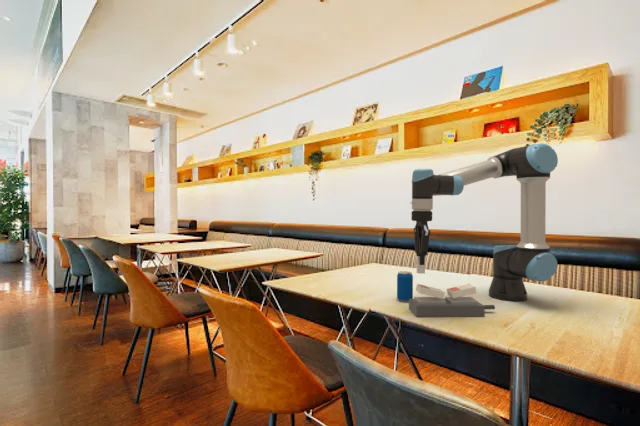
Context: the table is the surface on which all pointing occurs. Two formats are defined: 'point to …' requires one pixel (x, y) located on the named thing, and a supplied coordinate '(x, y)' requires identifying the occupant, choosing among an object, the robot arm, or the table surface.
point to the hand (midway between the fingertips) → (420, 273)
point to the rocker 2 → (461, 291)
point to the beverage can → (404, 286)
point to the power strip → (447, 307)
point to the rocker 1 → (430, 291)
